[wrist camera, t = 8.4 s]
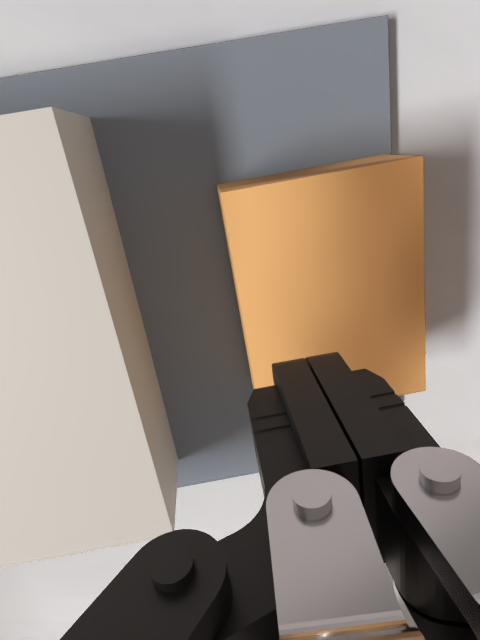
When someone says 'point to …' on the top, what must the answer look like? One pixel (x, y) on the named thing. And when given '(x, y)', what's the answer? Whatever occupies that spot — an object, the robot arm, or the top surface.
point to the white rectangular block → (72, 356)
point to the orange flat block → (332, 266)
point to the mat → (213, 190)
